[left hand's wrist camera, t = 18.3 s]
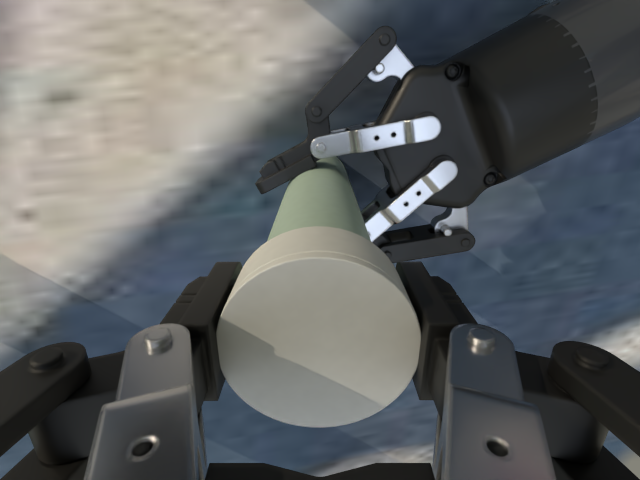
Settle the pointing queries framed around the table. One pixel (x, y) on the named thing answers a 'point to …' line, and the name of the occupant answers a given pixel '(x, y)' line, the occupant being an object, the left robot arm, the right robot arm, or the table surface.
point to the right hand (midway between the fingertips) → (281, 220)
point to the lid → (318, 329)
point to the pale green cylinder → (320, 201)
